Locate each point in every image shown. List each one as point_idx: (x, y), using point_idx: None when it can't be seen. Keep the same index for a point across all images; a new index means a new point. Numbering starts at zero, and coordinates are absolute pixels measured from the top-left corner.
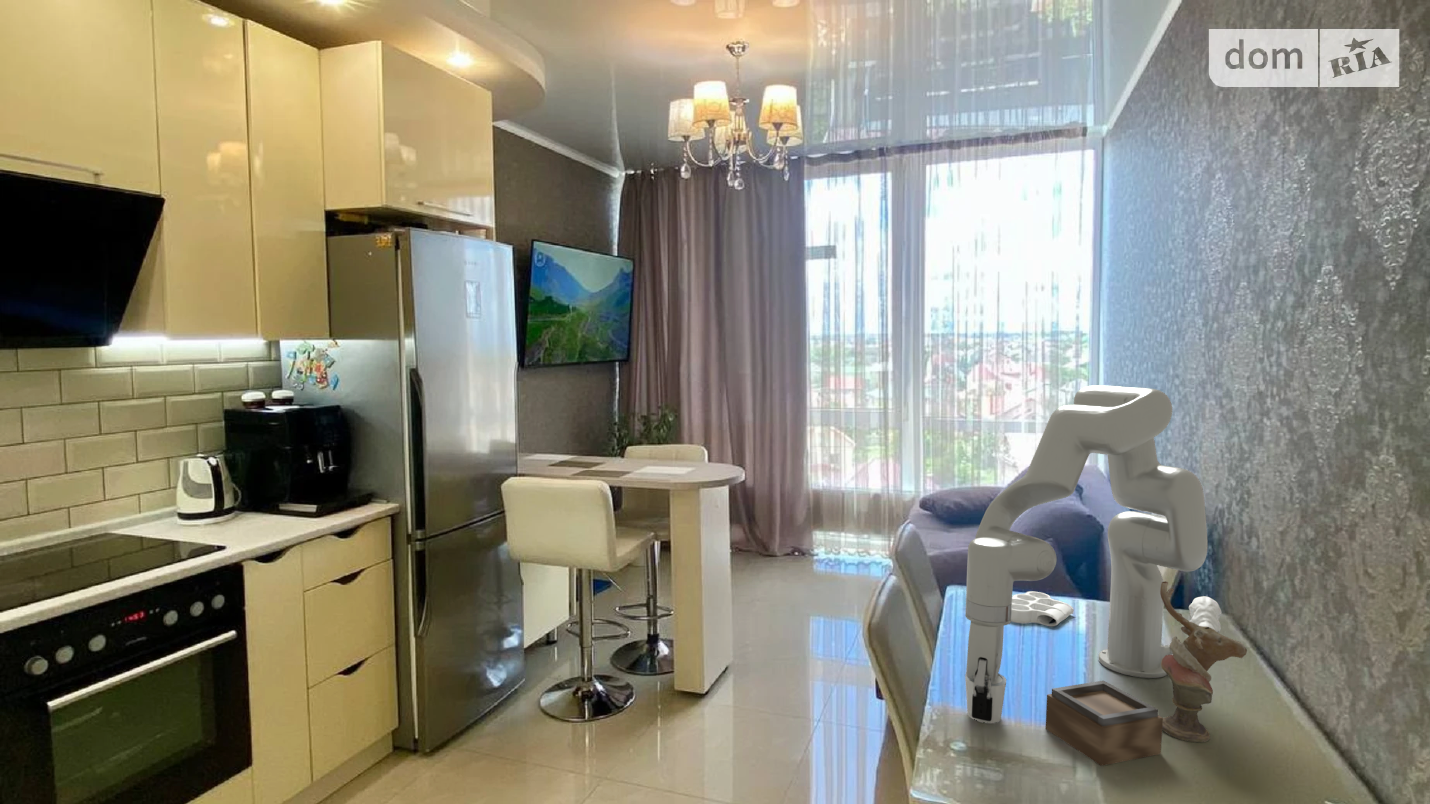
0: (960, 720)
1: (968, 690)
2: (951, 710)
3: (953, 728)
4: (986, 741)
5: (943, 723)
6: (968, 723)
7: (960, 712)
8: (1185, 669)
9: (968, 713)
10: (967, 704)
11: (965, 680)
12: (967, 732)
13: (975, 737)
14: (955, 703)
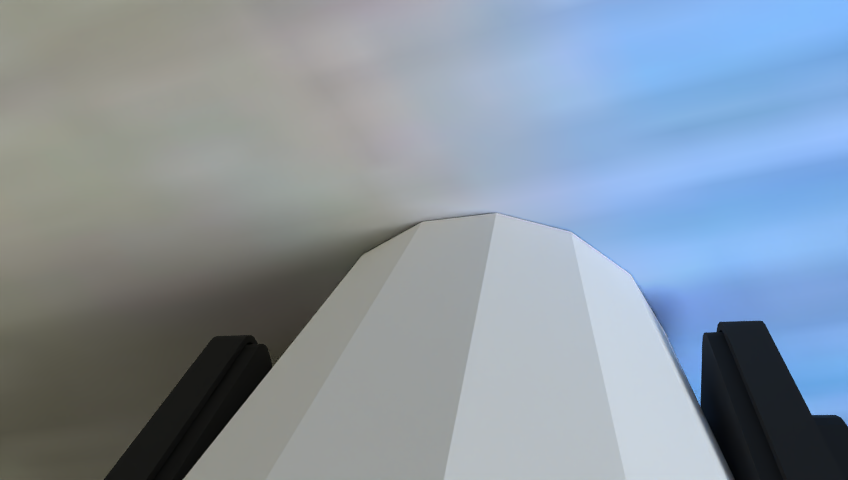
0: (220, 188)
1: (218, 439)
2: (399, 32)
3: (5, 166)
4: (13, 454)
5: (23, 42)
6: (213, 273)
7: (412, 143)
8: None
9: (380, 249)
10: (371, 278)
11: (270, 463)
12: (35, 299)
13: (5, 372)
14: (640, 21)
